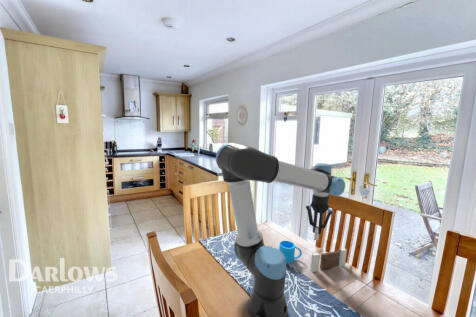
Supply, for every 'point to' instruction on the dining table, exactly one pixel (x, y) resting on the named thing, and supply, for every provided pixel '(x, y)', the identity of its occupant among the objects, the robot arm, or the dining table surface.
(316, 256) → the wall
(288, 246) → the mug
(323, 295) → the dining table surface
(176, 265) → the dining table surface
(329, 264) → the dark brown rectangular slab
